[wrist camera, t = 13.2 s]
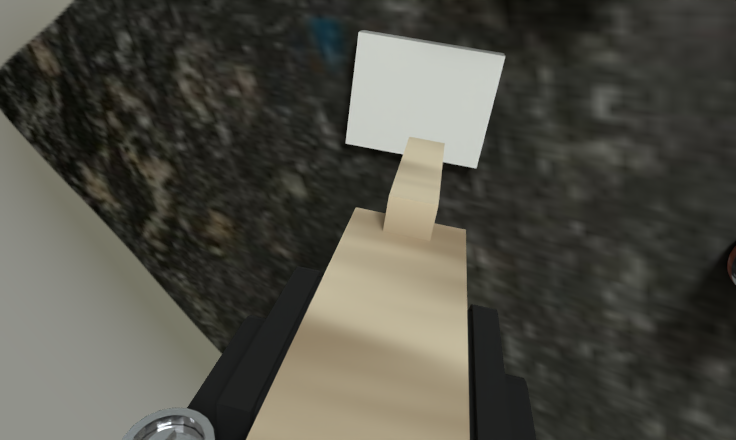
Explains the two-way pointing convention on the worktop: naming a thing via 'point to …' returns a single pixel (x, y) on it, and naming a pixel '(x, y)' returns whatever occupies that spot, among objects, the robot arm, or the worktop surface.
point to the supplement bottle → (732, 265)
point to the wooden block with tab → (382, 327)
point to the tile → (422, 95)
